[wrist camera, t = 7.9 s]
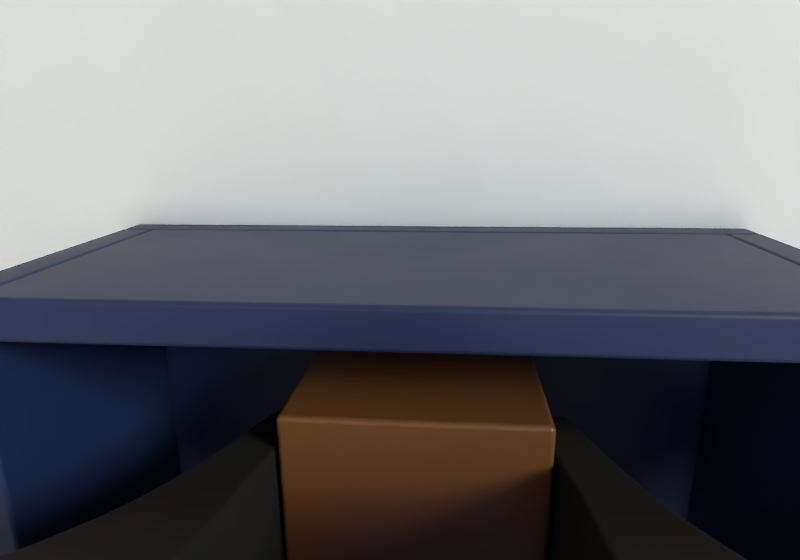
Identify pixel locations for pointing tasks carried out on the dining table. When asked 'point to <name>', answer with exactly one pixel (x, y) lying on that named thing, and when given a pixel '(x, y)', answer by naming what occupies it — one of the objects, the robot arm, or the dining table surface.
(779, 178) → the dining table surface
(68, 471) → the case
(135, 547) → the robot arm
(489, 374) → the block
